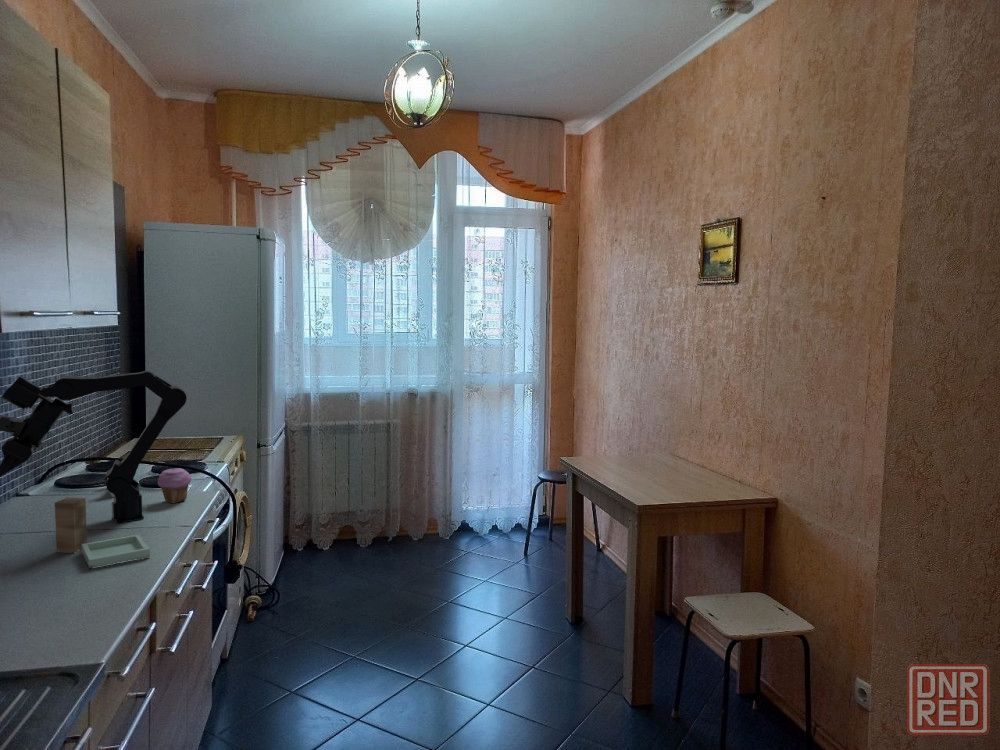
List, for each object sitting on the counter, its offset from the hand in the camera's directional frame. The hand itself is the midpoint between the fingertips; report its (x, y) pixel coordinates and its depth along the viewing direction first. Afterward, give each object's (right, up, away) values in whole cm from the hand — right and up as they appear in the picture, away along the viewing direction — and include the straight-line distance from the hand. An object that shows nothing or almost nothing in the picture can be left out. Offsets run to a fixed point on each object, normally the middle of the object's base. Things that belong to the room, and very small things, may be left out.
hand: (2, 471), depth 167 cm
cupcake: (+29, -14, +31) cm, 44 cm away
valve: (+7, -12, +38) cm, 41 cm away
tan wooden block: (+24, -17, -9) cm, 31 cm away
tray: (+36, -18, -12) cm, 42 cm away
